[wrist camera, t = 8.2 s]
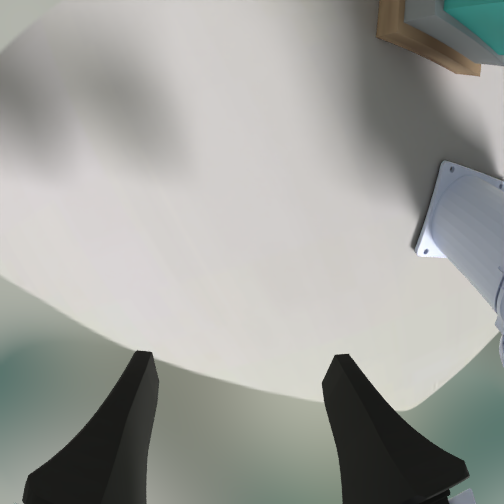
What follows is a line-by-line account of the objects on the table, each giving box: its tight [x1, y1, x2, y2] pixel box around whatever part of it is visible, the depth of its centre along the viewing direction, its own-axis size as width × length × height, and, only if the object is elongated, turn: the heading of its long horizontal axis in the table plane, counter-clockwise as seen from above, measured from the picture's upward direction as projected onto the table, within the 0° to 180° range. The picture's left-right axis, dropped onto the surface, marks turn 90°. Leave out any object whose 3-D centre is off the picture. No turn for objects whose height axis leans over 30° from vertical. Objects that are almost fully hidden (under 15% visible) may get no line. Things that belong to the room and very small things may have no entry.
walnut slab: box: [376, 0, 481, 76], centre depth 11 cm, size 7×7×3 cm
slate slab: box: [404, 0, 504, 66], centre depth 8 cm, size 6×6×3 cm
